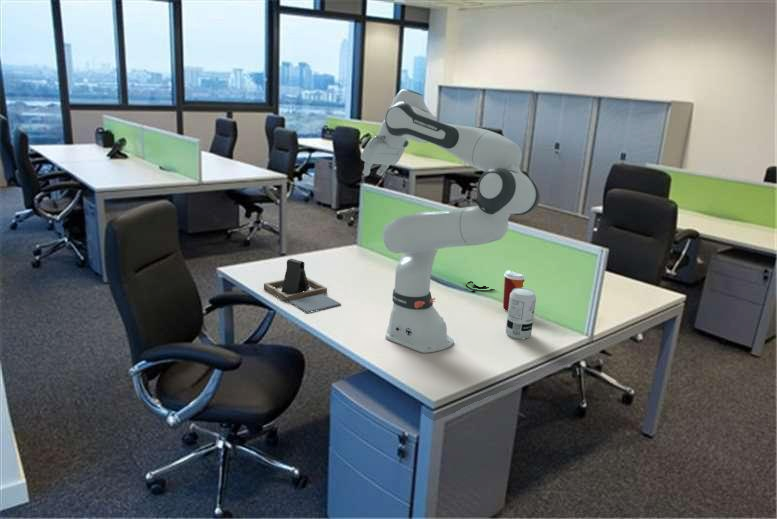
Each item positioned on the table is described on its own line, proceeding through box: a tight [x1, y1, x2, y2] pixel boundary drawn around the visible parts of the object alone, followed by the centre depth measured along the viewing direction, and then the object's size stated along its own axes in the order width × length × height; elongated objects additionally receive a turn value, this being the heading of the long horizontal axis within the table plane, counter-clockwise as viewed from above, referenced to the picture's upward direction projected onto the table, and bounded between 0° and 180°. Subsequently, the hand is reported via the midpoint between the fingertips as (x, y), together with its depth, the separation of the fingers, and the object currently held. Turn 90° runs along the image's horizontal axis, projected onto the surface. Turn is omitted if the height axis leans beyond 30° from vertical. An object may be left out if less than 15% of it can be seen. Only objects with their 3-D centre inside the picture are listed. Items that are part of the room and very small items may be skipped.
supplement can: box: [505, 287, 537, 340], centre depth 191 cm, size 8×8×15 cm
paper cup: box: [502, 269, 526, 312], centre depth 212 cm, size 8×8×14 cm
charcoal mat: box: [288, 294, 342, 314], centre depth 210 cm, size 12×14×1 cm
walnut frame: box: [263, 276, 328, 303], centre depth 221 cm, size 16×17×2 cm
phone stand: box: [280, 258, 310, 295], centre depth 220 cm, size 9×6×12 cm, turn 150°
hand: (372, 174), depth 195 cm, fingers open, 8 cm apart
